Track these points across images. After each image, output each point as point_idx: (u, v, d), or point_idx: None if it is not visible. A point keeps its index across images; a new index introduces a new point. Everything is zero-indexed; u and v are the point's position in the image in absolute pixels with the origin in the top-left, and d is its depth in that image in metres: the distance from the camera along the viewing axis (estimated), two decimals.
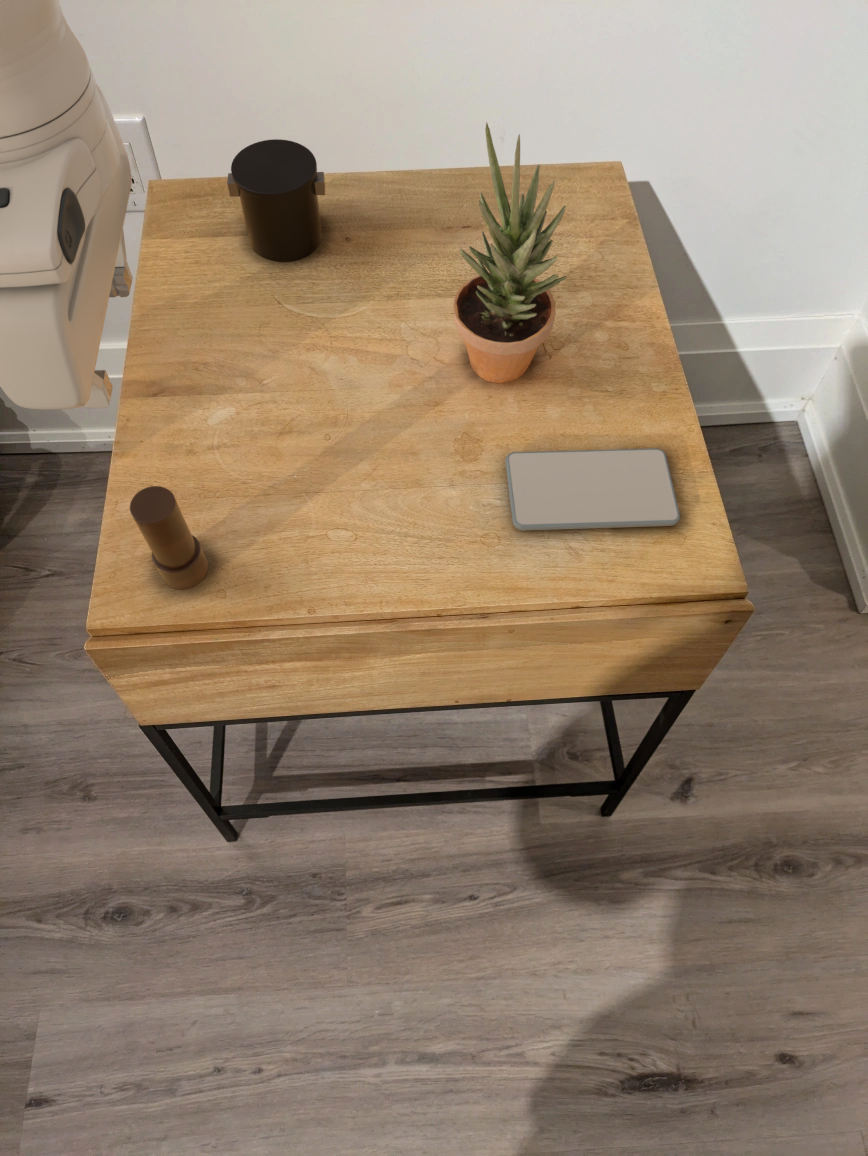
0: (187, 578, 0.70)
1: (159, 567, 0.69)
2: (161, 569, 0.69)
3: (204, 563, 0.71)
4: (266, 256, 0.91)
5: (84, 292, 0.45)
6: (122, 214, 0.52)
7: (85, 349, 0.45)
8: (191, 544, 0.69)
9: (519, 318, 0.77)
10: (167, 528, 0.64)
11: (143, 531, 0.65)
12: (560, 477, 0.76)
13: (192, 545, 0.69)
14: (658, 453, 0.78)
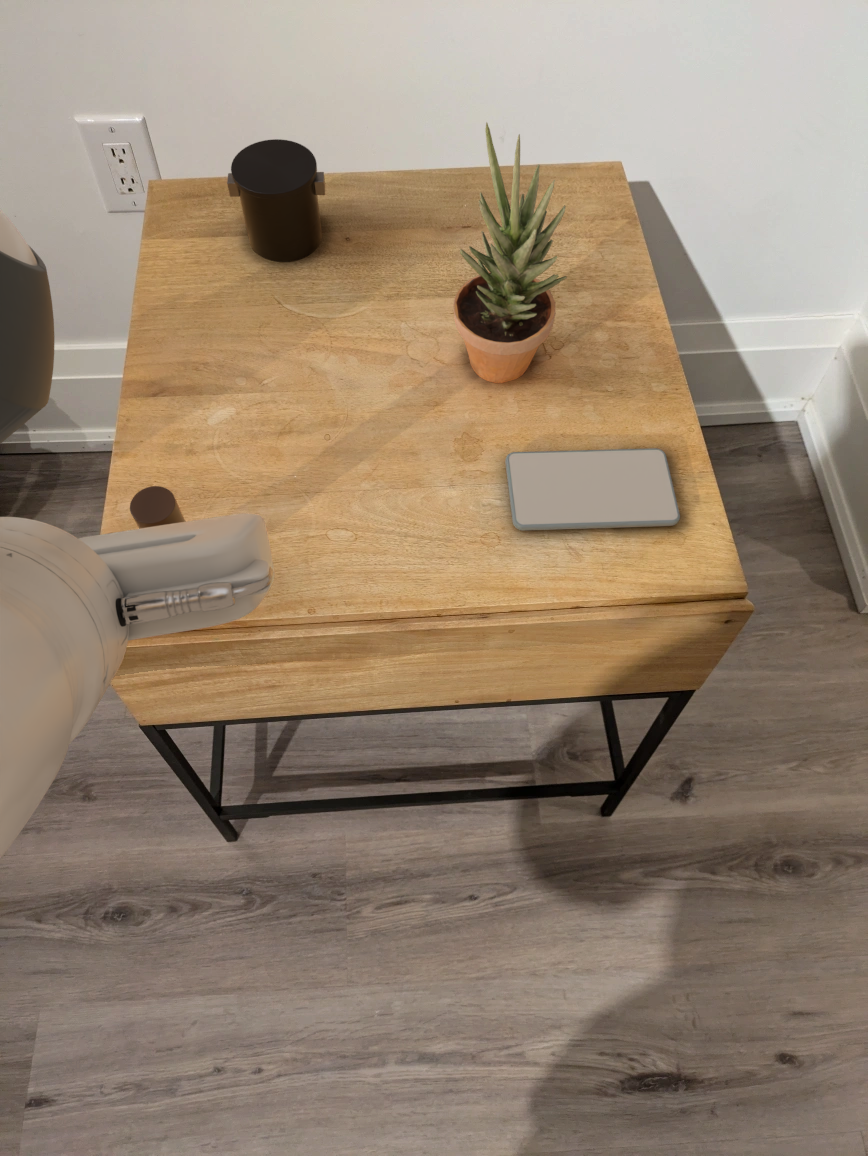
0: None
1: None
2: None
3: None
4: (266, 256, 0.91)
5: None
6: None
7: None
8: None
9: (519, 318, 0.77)
10: None
11: None
12: (560, 477, 0.76)
13: None
14: (658, 453, 0.78)
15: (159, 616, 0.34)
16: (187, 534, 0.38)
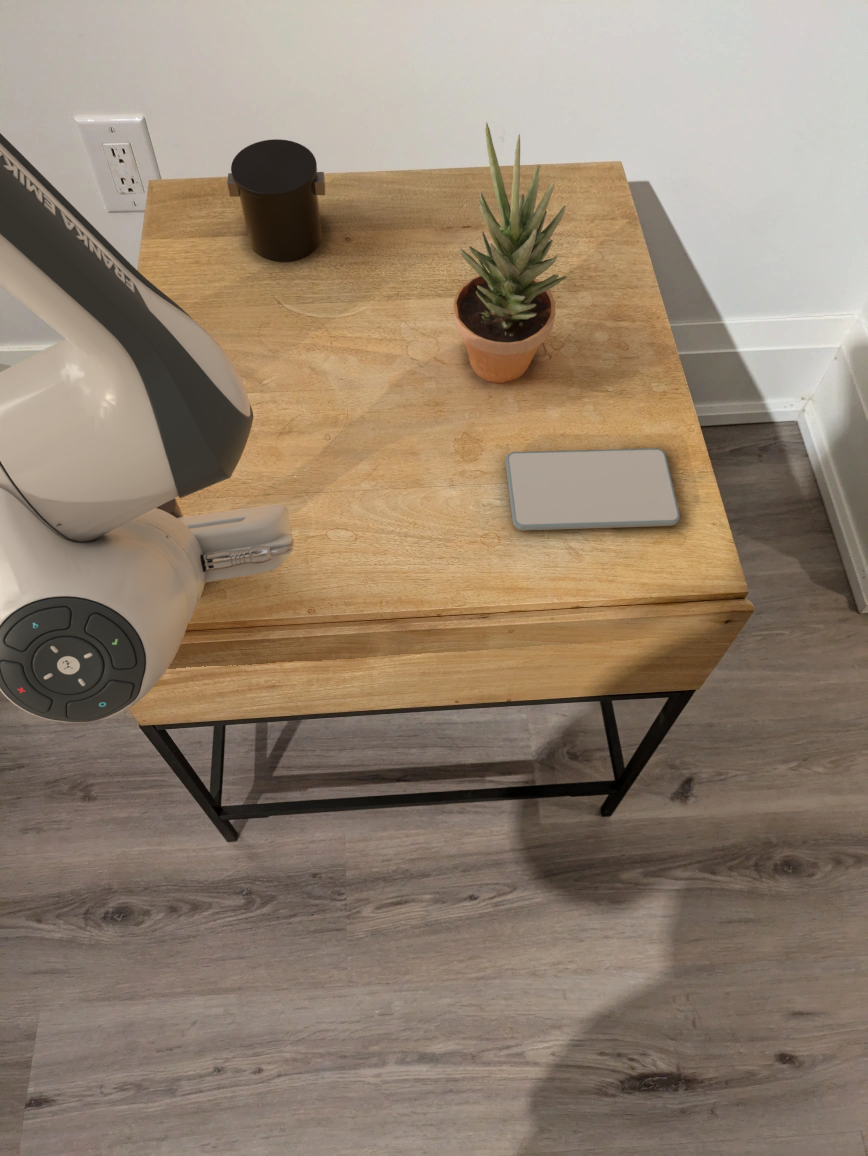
0: None
1: None
2: None
3: None
4: (266, 256, 0.91)
5: None
6: None
7: None
8: None
9: (519, 318, 0.77)
10: None
11: None
12: (560, 477, 0.76)
13: None
14: (658, 453, 0.78)
15: (226, 566, 0.56)
16: (239, 517, 0.60)
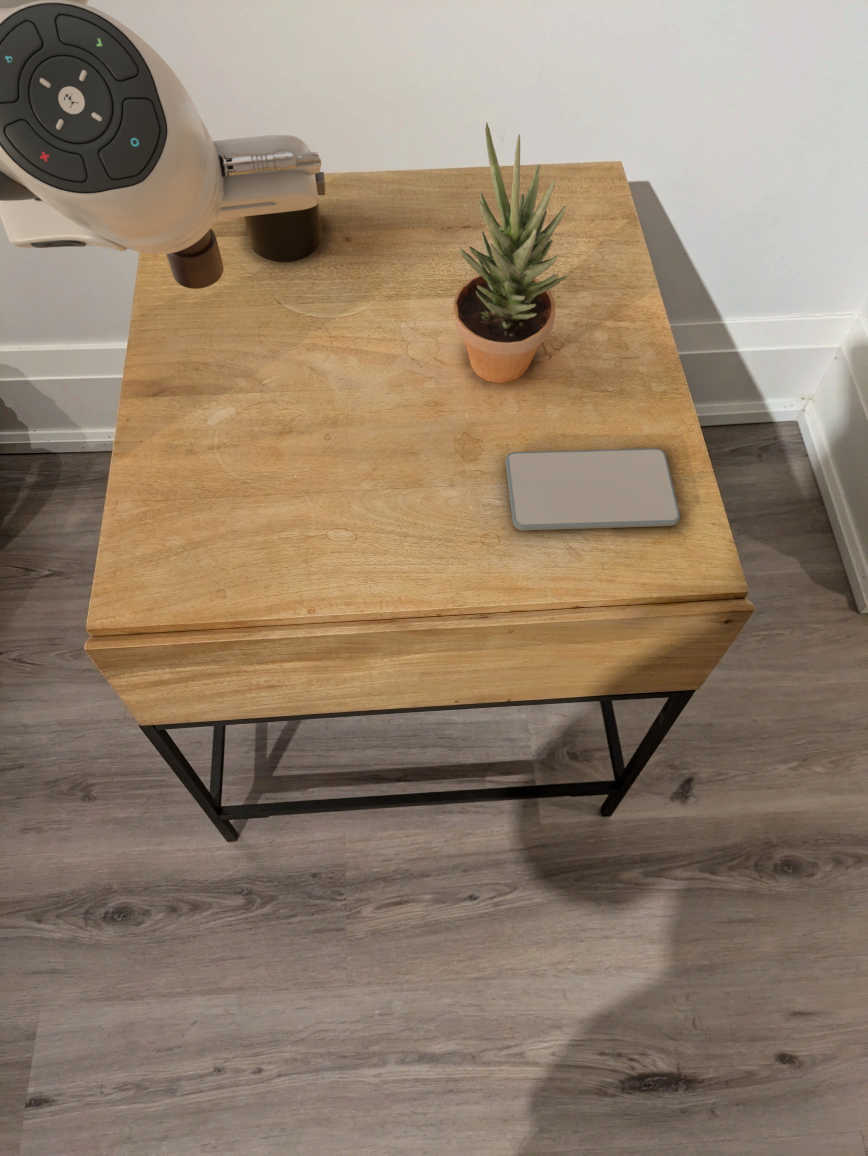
0: (201, 271, 0.65)
1: (171, 253, 0.64)
2: (173, 255, 0.64)
3: (219, 260, 0.66)
4: (266, 256, 0.91)
5: None
6: (248, 215, 0.59)
7: None
8: None
9: (519, 318, 0.77)
10: None
11: None
12: (560, 477, 0.76)
13: None
14: (658, 453, 0.78)
15: (247, 168, 0.50)
16: None
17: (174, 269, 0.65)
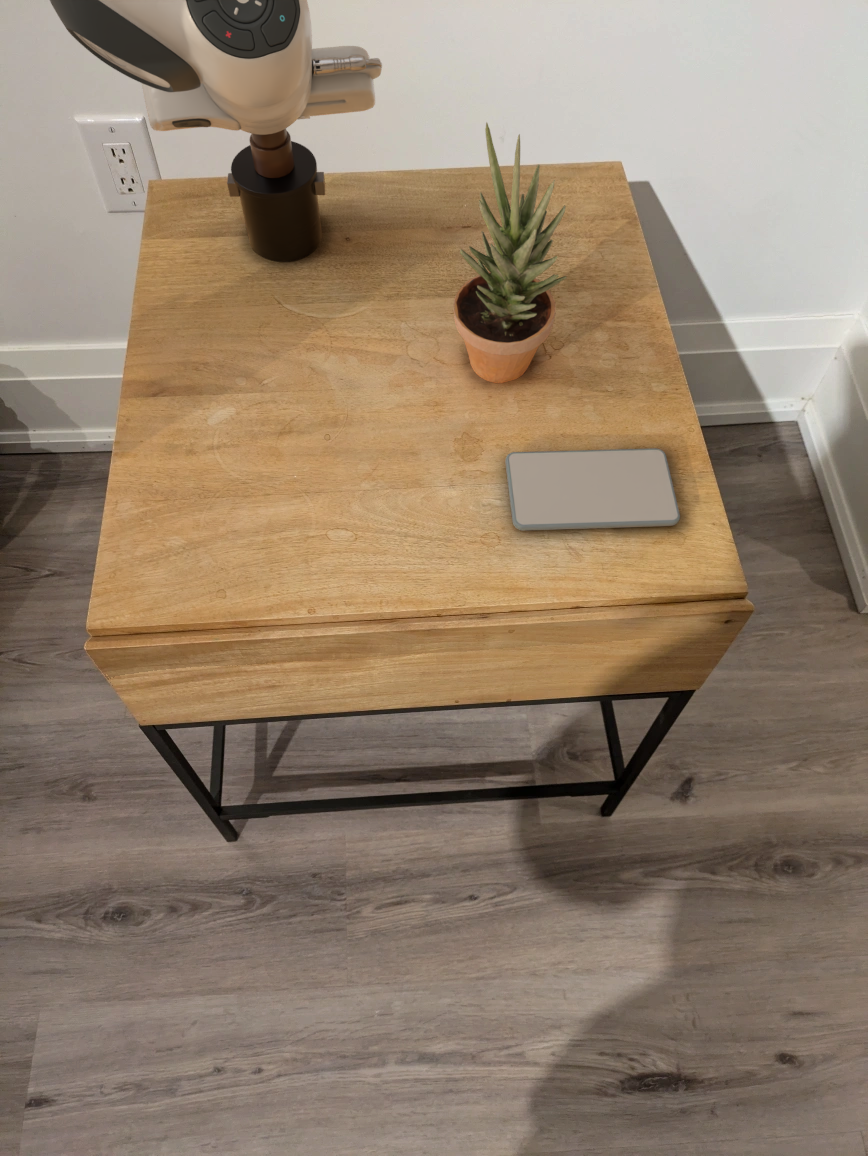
0: (279, 162, 0.83)
1: (256, 147, 0.82)
2: (258, 149, 0.82)
3: (292, 155, 0.84)
4: (266, 256, 0.91)
5: None
6: (321, 114, 0.77)
7: None
8: None
9: (519, 318, 0.77)
10: None
11: None
12: (560, 477, 0.76)
13: None
14: (658, 453, 0.78)
15: (330, 68, 0.69)
16: None
17: (257, 161, 0.83)
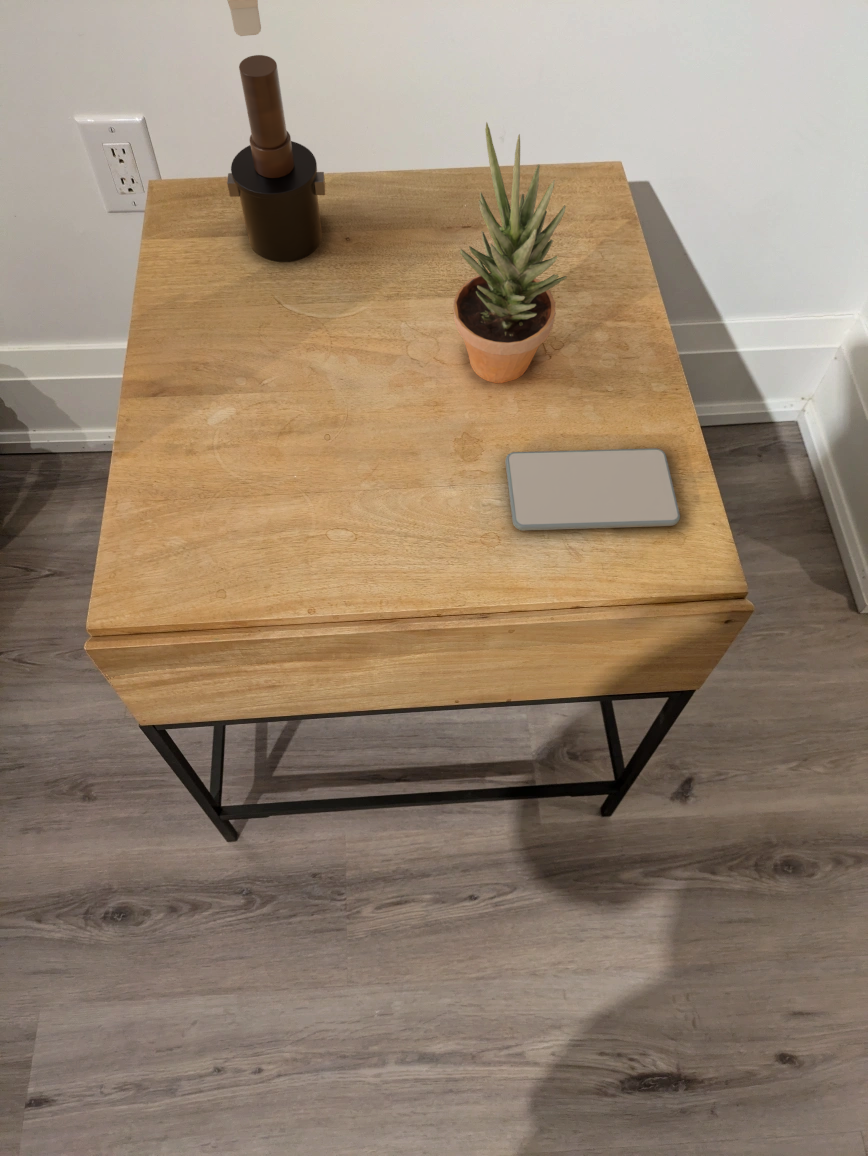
0: (279, 162, 0.83)
1: (256, 147, 0.82)
2: (258, 149, 0.82)
3: (292, 155, 0.84)
4: (266, 256, 0.91)
5: None
6: None
7: None
8: (284, 125, 0.81)
9: (519, 318, 0.77)
10: (269, 87, 0.77)
11: (249, 92, 0.77)
12: (560, 477, 0.76)
13: (285, 127, 0.82)
14: (658, 453, 0.78)
15: None
16: None
17: (257, 161, 0.83)
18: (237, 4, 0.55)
